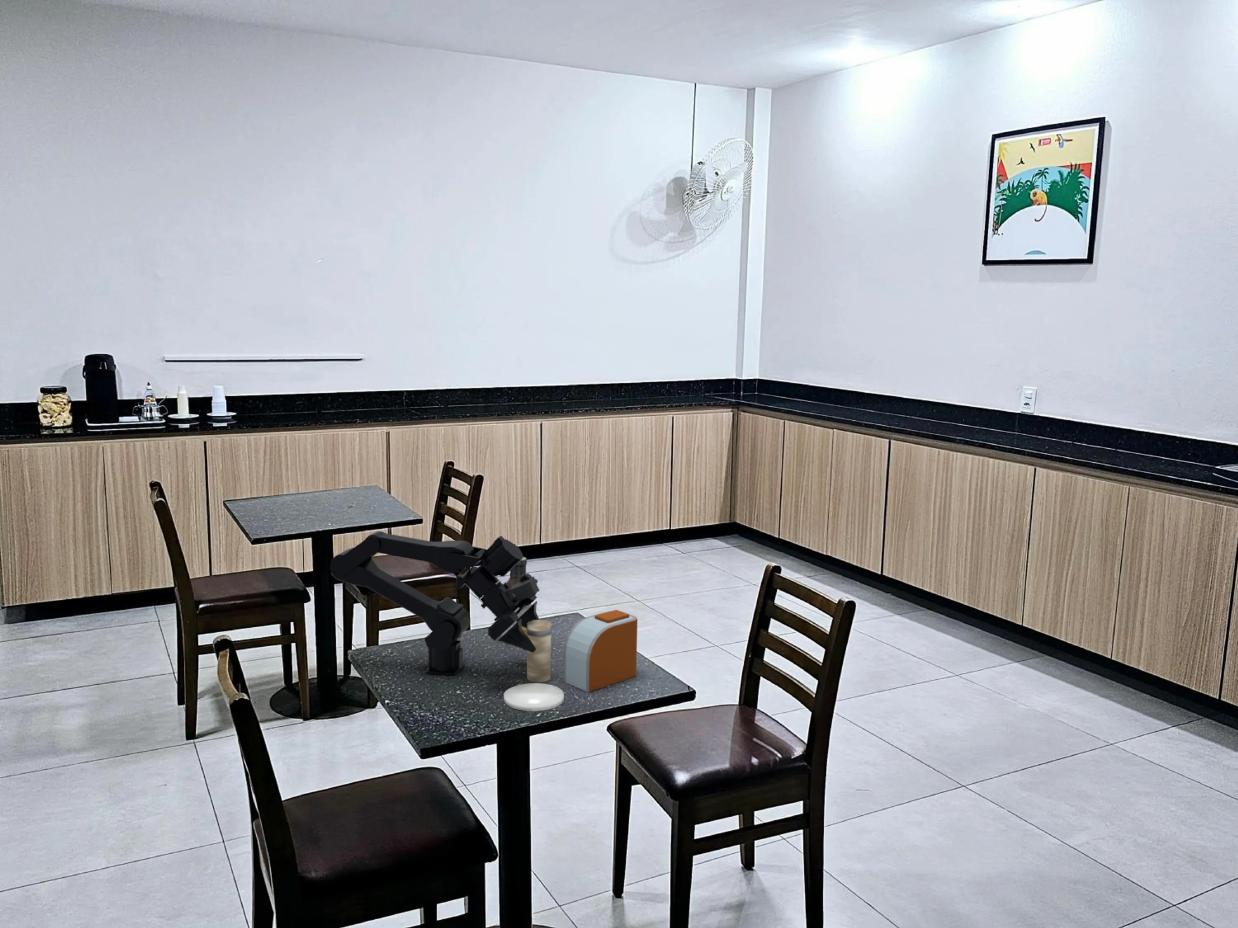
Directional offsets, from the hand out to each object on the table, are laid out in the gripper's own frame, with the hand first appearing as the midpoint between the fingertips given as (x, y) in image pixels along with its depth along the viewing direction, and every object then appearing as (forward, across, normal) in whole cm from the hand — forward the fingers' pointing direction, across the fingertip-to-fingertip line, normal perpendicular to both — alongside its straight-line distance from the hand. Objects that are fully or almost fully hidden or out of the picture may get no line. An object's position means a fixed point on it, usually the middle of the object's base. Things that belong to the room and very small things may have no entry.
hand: (540, 643), depth 212 cm
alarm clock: (+15, +3, -3) cm, 15 cm away
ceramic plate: (+6, -12, +4) cm, 14 cm away
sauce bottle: (-3, +22, +14) cm, 26 cm away
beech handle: (+5, 0, +6) cm, 8 cm away
